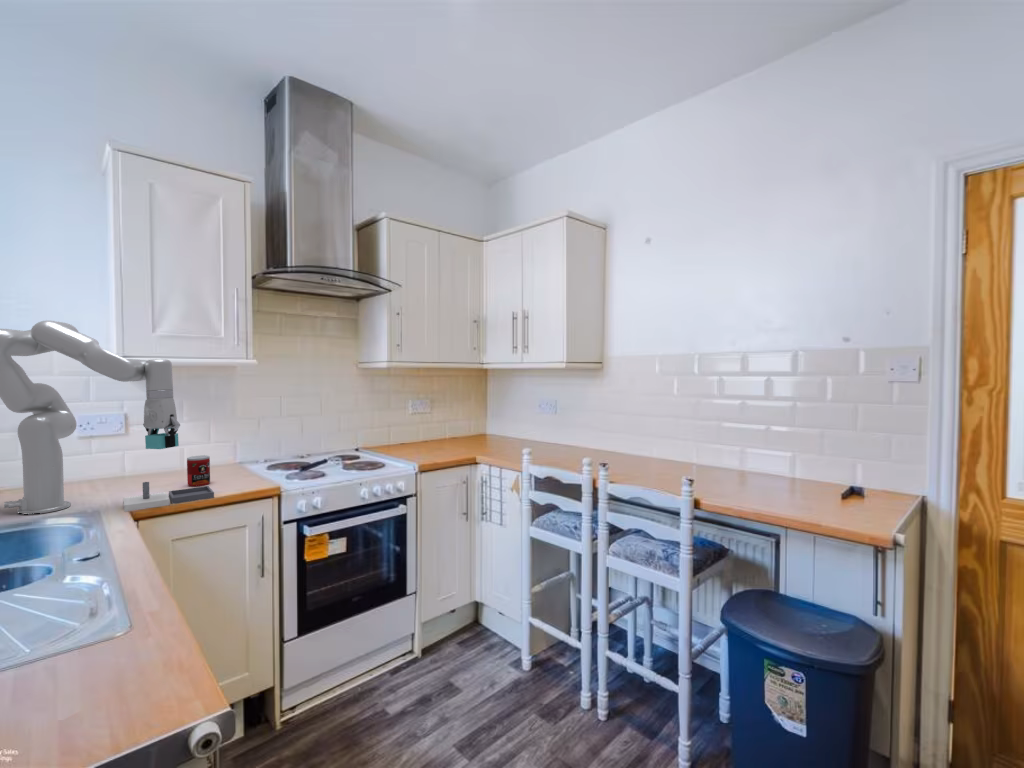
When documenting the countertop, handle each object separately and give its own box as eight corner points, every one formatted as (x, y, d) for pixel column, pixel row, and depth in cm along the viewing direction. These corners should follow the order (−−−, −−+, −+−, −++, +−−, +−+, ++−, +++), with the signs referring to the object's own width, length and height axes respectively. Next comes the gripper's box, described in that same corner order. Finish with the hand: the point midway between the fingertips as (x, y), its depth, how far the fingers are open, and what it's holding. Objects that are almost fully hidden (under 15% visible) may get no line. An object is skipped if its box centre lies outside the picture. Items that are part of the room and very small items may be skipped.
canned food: (192, 487, 189) (191, 459, 188) (184, 484, 194) (183, 457, 193) (213, 484, 195) (213, 456, 194) (205, 481, 200) (204, 454, 199)
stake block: (124, 511, 157) (123, 488, 157) (123, 503, 167) (122, 481, 166) (169, 504, 165) (169, 482, 165) (166, 497, 174) (165, 476, 174)
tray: (172, 503, 166) (172, 498, 166) (168, 496, 176) (168, 491, 176) (214, 497, 174) (213, 492, 174) (208, 491, 184) (208, 485, 183)
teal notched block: (160, 449, 164) (159, 436, 164) (145, 448, 166) (145, 435, 166) (178, 446, 171) (178, 433, 170) (164, 445, 172) (164, 432, 172)
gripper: (130, 396, 167) (133, 448, 167) (168, 395, 162) (170, 449, 162) (152, 394, 174) (155, 444, 175) (189, 394, 169) (191, 445, 169)
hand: (162, 446), depth 168 cm, fingers closed on teal notched block, 6 cm apart
